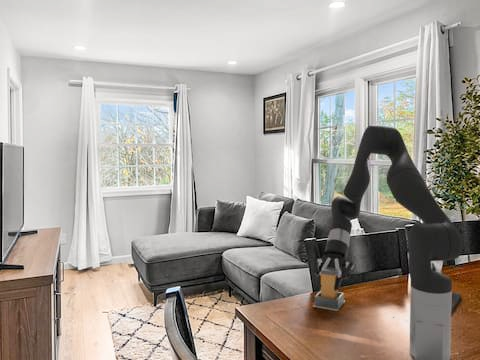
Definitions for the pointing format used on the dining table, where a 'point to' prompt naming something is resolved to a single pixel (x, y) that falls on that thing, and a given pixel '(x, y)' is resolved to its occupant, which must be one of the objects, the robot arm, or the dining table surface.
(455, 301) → the smart home device
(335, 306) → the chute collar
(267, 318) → the dining table surface
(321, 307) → the cream flat slab
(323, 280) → the chute block
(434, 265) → the beer glass
